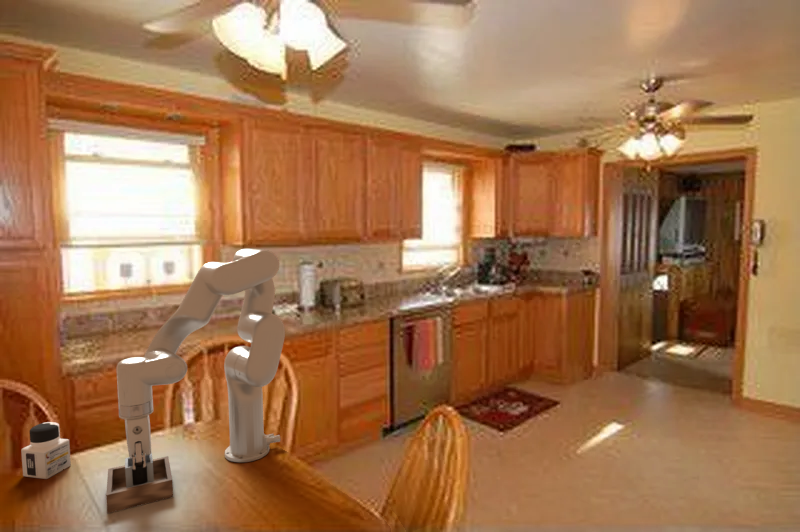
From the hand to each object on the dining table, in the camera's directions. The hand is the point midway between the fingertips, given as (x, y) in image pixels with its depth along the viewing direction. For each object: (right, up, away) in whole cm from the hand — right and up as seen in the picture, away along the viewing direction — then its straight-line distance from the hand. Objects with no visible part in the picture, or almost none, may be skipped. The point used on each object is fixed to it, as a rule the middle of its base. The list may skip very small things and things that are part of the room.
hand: (140, 476), depth 124 cm
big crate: (0, -4, 0) cm, 4 cm away
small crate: (0, -1, 0) cm, 1 cm away
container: (-31, -3, +11) cm, 33 cm away
